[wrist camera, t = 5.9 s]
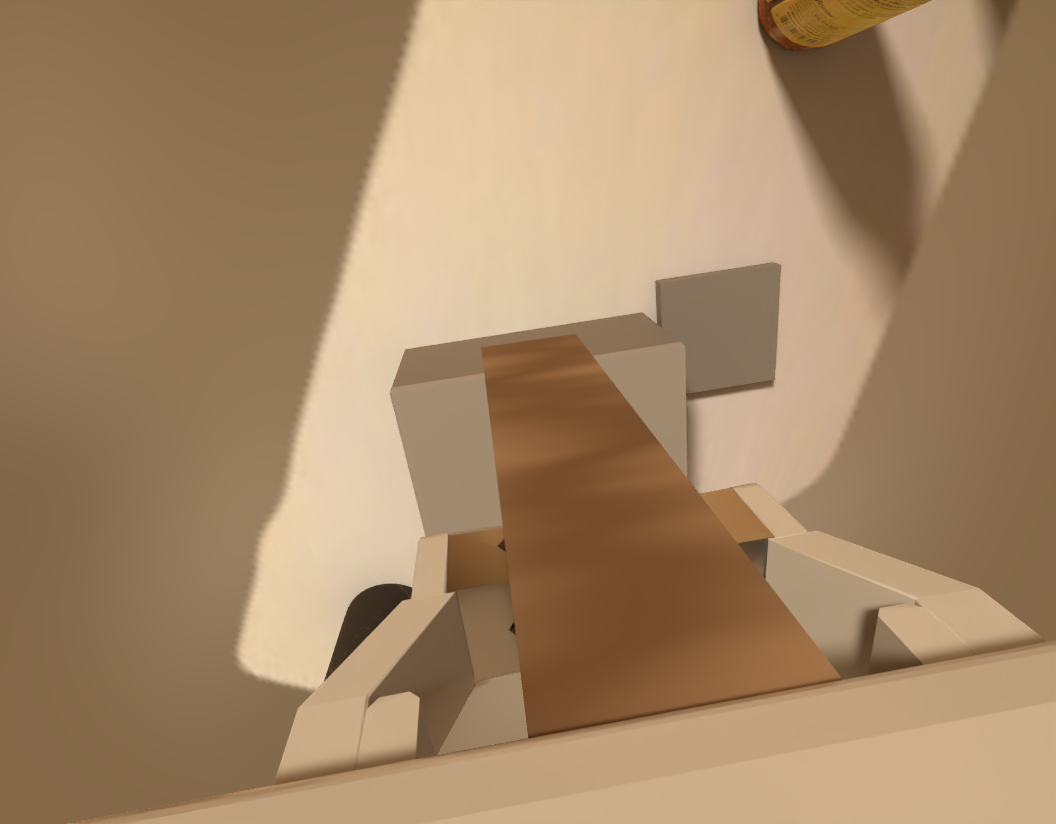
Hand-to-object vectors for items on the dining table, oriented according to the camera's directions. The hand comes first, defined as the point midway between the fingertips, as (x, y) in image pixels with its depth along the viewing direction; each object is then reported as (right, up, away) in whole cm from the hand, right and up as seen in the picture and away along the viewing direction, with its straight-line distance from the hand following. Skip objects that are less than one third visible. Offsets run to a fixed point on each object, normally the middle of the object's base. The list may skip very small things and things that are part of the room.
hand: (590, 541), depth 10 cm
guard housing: (0, 0, +30) cm, 30 cm away
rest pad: (+12, +8, +28) cm, 32 cm away
